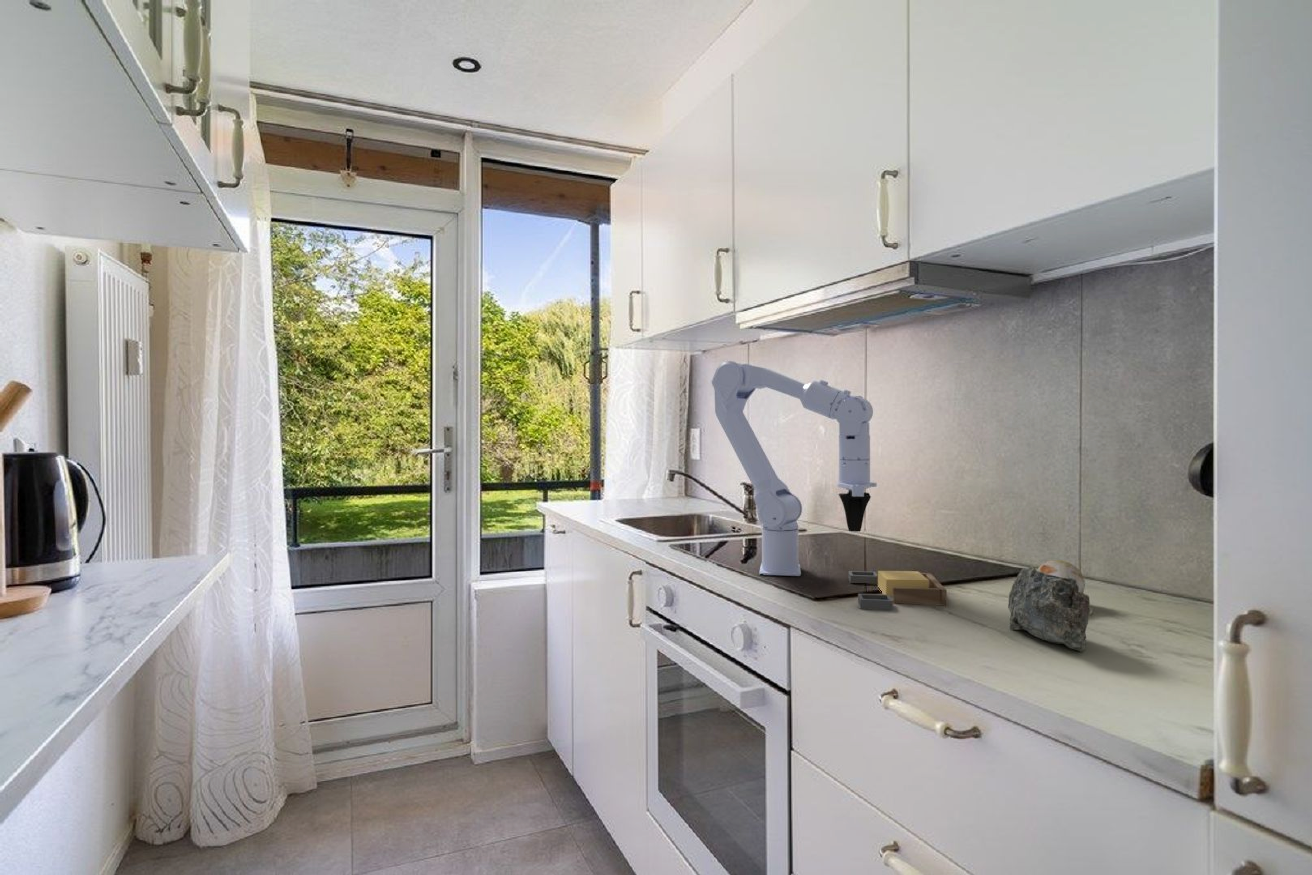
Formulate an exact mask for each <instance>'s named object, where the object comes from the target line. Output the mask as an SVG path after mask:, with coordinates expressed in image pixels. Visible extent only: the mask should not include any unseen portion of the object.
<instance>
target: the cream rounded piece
mask: <svg viewBox="0 0 1312 875" xmlns="http://www.w3.org/2000/svg"><path fill="white" fill-rule="evenodd" d="M1036 571H1039V572H1042V573H1046V574H1050V575H1054V576H1058V577H1061V578H1067V579H1071V578H1072V579H1074V580H1075V581H1076V584H1077V585H1078V588H1079V591H1078V592H1080V593H1084V592H1085V588H1086V581H1085V578H1084V575H1083V573H1082V572H1081V570H1080V569H1079V568H1078V567H1076V566H1075V565H1074V564H1072V563H1070V562H1069V561H1065V560H1060V559H1059V560H1048V561H1045V562H1044V563H1042V564H1041V565H1040V566H1038V568H1037V569H1036ZM1093 613H1094V611H1093V609H1092V607H1091V606H1090V613H1089V616H1090V615H1092V614H1093Z"/></svg>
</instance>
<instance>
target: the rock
mask: <svg viewBox="0 0 1312 875" xmlns="http://www.w3.org/2000/svg"><path fill="white" fill-rule="evenodd" d="M1019 571H1020V572H1019V573H1018V574H1017V576H1016V578H1015V579H1014V582H1013V584H1012V586H1011V590H1010V591H1009V593H1008V604H1007V607H1008V608H1007V609H1008V610H1009V612H1010V614H1009V629H1010V630H1012V631H1015V630H1018V631H1019V630H1020V631H1021V630H1025V631H1027V632H1028V633H1029V634H1030V635H1032V636H1034V637H1036V638H1039V639H1041V640H1043V641H1048V642H1050V643H1053V644H1058V645H1059V644H1060V645H1061V644H1063V645H1065V646H1066V647H1067V648H1069V649H1072V650H1076V651H1079V652H1083V651H1084V650H1085V649H1086V647H1087V646H1086V645H1087V635H1086V632H1087V631H1086V630H1087V627H1088V624H1089V617H1090V615H1089V613H1090V607H1091V605H1090V604H1091V603H1090V596H1089V595H1088V594H1085V593H1084V592H1083V593H1080V592H1078V591H1079V588H1078V585H1077V584H1076V581H1075V580H1074V579H1072V578H1071V579H1067V578H1061V577H1058V576H1054V575H1050V574H1046V573H1042V572H1039V571H1037V569H1036V567H1034V566H1031V567H1027V568H1023V569H1021V570H1019Z"/></svg>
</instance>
